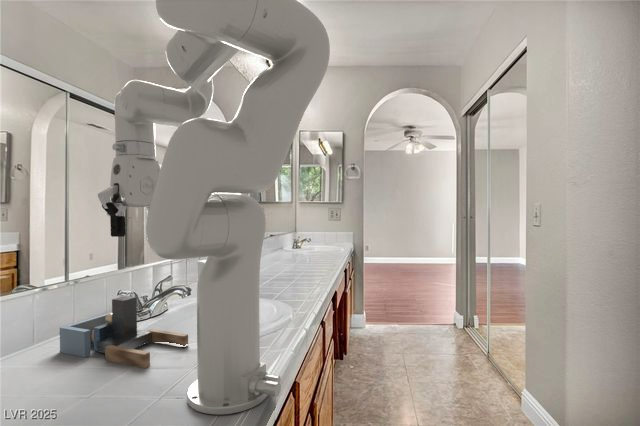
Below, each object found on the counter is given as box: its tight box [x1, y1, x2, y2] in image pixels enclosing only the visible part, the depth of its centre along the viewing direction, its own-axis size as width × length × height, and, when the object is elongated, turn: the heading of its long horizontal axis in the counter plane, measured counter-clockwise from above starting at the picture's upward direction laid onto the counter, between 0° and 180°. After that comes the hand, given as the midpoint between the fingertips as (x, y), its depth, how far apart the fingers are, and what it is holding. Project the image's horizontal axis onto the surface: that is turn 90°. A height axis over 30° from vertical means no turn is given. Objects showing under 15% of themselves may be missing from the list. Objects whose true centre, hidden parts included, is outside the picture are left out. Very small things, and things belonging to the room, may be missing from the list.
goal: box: [59, 311, 112, 358], centre depth 81 cm, size 7×12×5 cm, turn 158°
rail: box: [104, 328, 189, 369], centre depth 76 cm, size 10×11×2 cm
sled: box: [93, 295, 152, 354], centre depth 78 cm, size 8×8×10 cm
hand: (137, 234), depth 78 cm, fingers open, 9 cm apart
